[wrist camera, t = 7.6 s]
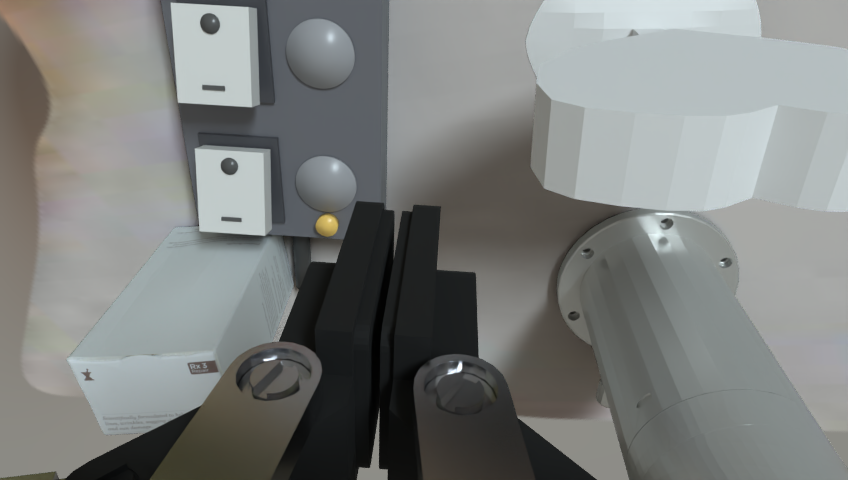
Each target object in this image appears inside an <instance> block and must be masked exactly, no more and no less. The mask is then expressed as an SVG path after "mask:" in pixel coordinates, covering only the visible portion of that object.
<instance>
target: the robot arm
mask: <svg viewBox="0 0 848 480" xmlns="http://www.w3.org/2000/svg"><path fill="white" fill-rule="evenodd" d="M440 209H441V207H440V206H425V205H414V206H413V212H408V211H402V216H401V222H400V228H399V233H398V239H397V245H396V250H395V256H394V216H395V215H394V211H392V210H385V205H384V203H379V202H364V201H356V203H355V206H354V210H353V213H352V216H351V219H350V222H349V225H348V228H347V231H346V234H345V237H344V240H343V243H342V246H341V250H340V253H339V256H338V259H337V262H336V263H326V262H311V263H310V265H309V266H308V269H307V271H306V274H305V276H304V279H303V282H302V284H301V287H300V289H299V292H298V294H297V297H296V299H295V302H294V304H293V307H292V309H291V312H290V315H289V317H288V320H287V322H286V325H285V327H284V330H283V332H282V335H281V337H280V340H279V342H271V343H264V344H261V345H259V346H256V347H253V348H250V349H249V350H247V351H245V352H244V353H242V354H240V355H239V356H238V357H237V358H236V359H235V360H234V361H233V362H232V363H231V364H230V365H229V367H228V368H227V370H226V371H225V373H224V374H223V375H222V377H221V378H220V380H219V381H218V383H217V384H216V385H215V387H214V388H213V390H212V391H211V393H210V394H209V395H208V397H207V398H206V400H205V401H204V403H203V404H202V405H201V406H199V407H197V408H195V409H193V410H191V411H189V412H187V413H185V414H183V415H181V416H179V417H177V418H175V419H173V420H171V421H169V422H167V423H165V424H163V425H161V426H159V427H157V428H155V429H153V430H151V431H149V432H147V433H145V434H143V435H141V436H139V437H137V438H135V439H133V440H131V441H129V442H127V443H125V444H123V445H121V446H119V447H117V448H115V449H113V450H111V451H109V452H107V453H105V454H103V455H101V456H99V457H97V458H95V459H93V460H91V461H89V462H87V463H86V464H84V465H83V466H81V467H79V468H78V469H76V470H75V471H73V472H72V473H71V474H70V475H69V476H68V477H67V478H64V479H59V478H58V475H57V473H56V472H48V473H39V474H30V475H22V476H14V477H6V478H0V480H357V474H358V469H359V467H363V468H370V464H371V458H372V452H373V446H374V439H375V433H376V427H377V420H378V414H379V407H380V424H379V428H380V429H379V432H380V433H379V468H380V469H388V480H597V479H595V478H594V477H593V476H591V475H590V474H589V473H588V472H586V471H585V470H584V469H582V468H581V467H580V466H579V465H577V464H576V463H575V462H573V461H572V460H571V459H569V458H568V457H567V456H566V455H564V454H563V453H562V452H561V451H559V450H558V449H557V448H556V447H554V446H553V445H552V444H550V443H549V442H548V441H546V440H545V439H544V438H543V437H541V436H540V435H539V434H537V433H536V432H535V431H534V430H532V429H531V428H530V427H529V426H527V425H526V424H525V423H523V422H522V421H521V420H520V419H518V418H517V415H516V411H515V408H514V405H513V401H512V398H511V394H510V391H509V388H508V384H507V382H506V380H505V379H504V377H503V375H502V374H501V373H500V372H499V371H498V370H497V369H496V368H495V367H494V366H493V365H491V364H490V363H488V362H486V361H484V360H483V359H480V358H479V357H478V327H477V298H476V274H475V273H473V272H459V271H444V270H437V255H438V240H439V225H440ZM663 219H664V220H663ZM738 283H739V265H738V261H737V257H736V254H735V252H734V250H733V248H732V246H731V245H730V243H729V241H728V240H727V239H726V237H725V236H724V235H723V234H722V232H721V231H720V230H719V229H718V228H717V227H715V226H714V225H713V224H712V223H711V222H710V221H708V220H706V219H704V218H702V217H700V216H698V215H697V214H695V213H691V212H688V211H665V210H655V209H644V208H641V209H636V210H632V211H627V212H624V213H621V214H619V215H616V216H613V217H611V218H608V219H606V220H605V221H603V222H601V223H600V224H598V225H596V226H594V227H593V228H592V229H590V230H589V231H588V232H587V233H585V234H584V235H583V236H582V237H581V238H579V240H578V241H577V242H576V243H575V244H574V246H573V247H572V248H571V249H570V250H569V252H568V253H567V255H566V257H565V259H564V261H563V262H562V264H561V268H560V271H559V274H558V277H557V289H556V291H557V297H558V303H559V307H560V310H561V314H562V317H563V318H564V320H565V322H566V323H567V325H568V327H569V328H570V329H571V330H572V331H573V332H574V333H575V334H576V336H577V337H579V338H580V339H582V340H583V341H584V342H586V343H587V344H589V345H591V346H592V347H593V350H594V354H595V358H596V361H597V365H598V368H599V372H600V376H601V379H600V382H599V386H598V389H597V393H596V399H597V401H598V402H599V403H600V404H601V405H603V406H604V407H607V408H610V412H611V415H612V419H613V423H614V426H615V430H616V434H617V437H618V441H619V444H620V448H621V452H622V455H623V459H624V462H625V466H626V470H627V473H628V477H629V480H848V468H847V466H846V465H845V463H844V462H843V461H842V459H841V458H840V456H839V455H838V453H837V452H836V450H835V449H834V447H833V446H832V444H831V443H830V441H829V440H828V438H827V437H826V435H825V434H824V432H823V431H822V429H821V427H820V426H819V424H818V423H817V421H816V420H815V418H814V417H813V415H812V414H811V412H810V411H809V409H808V408H807V406H806V404H805V403H804V401H803V400H802V398H801V397H800V395H799V394H798V392H797V391H796V389H795V388H794V386H793V384H792V383H791V381H790V380H789V378H788V377H787V375H786V374H785V372H784V371H783V369H782V368H781V366H780V364H779V363H778V361H777V360H776V358H775V357H774V355H773V354H772V352H771V351H770V349H769V347H768V346H767V344H766V343H765V341H764V340H763V338H762V337H761V335H760V334H759V332H758V331H757V329H756V327H755V326H754V324H753V323H752V321H751V320H750V318H749V317H748V315H747V314H746V312H745V310H744V309H743V307H742V306H741V304H740V303H739V301H738V300H737V298H736V297H735V294H736V291H737V287H738Z"/></svg>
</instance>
